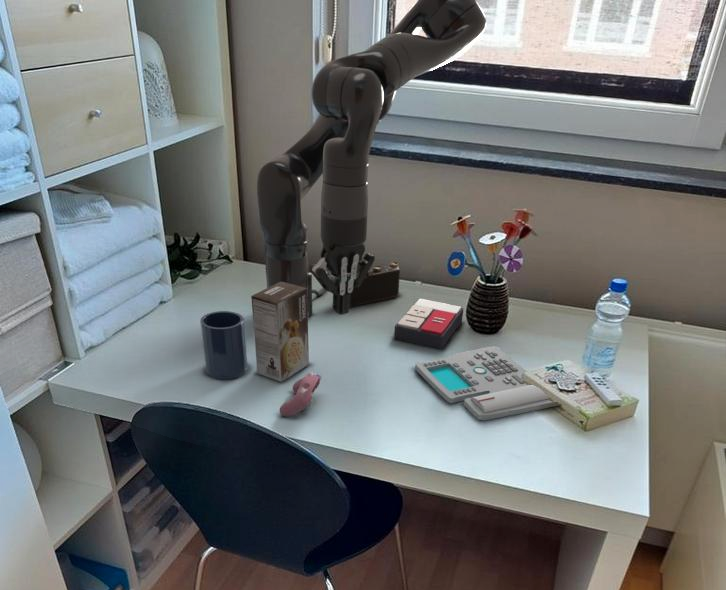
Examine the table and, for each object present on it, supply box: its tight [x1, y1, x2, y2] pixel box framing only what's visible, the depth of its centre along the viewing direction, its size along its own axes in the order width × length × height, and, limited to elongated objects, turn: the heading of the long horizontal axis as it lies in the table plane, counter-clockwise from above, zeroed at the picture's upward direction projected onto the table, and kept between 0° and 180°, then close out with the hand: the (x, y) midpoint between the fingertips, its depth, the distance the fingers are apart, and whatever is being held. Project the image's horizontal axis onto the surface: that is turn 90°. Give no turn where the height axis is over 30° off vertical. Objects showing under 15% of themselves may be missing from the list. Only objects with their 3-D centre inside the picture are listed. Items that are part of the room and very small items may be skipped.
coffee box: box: [250, 282, 310, 383], centre depth 129 cm, size 9×6×16 cm
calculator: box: [393, 298, 464, 350], centre depth 150 cm, size 11×4×15 cm
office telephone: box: [414, 345, 562, 421], centre depth 131 cm, size 23×3×20 cm
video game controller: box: [279, 371, 323, 417], centre depth 122 cm, size 10×5×7 cm, turn 169°
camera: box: [350, 261, 401, 307], centre depth 162 cm, size 16×7×8 cm, turn 120°
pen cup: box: [199, 310, 248, 381], centre depth 130 cm, size 8×8×10 cm
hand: (341, 312), depth 120 cm, fingers closed
